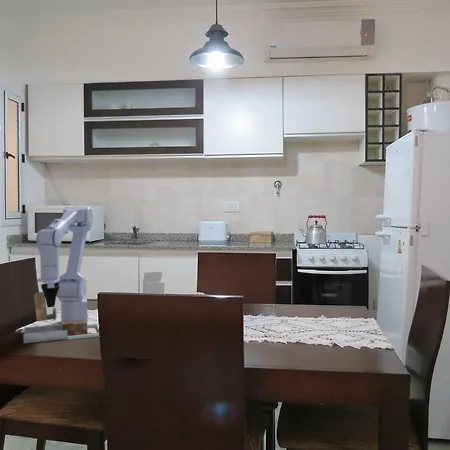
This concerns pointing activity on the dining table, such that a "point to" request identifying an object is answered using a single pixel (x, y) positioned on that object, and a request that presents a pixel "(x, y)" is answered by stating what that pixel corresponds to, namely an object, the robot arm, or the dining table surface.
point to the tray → (85, 334)
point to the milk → (153, 283)
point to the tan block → (42, 308)
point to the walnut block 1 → (68, 327)
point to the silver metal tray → (44, 333)
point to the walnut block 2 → (80, 327)
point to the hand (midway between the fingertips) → (50, 305)
